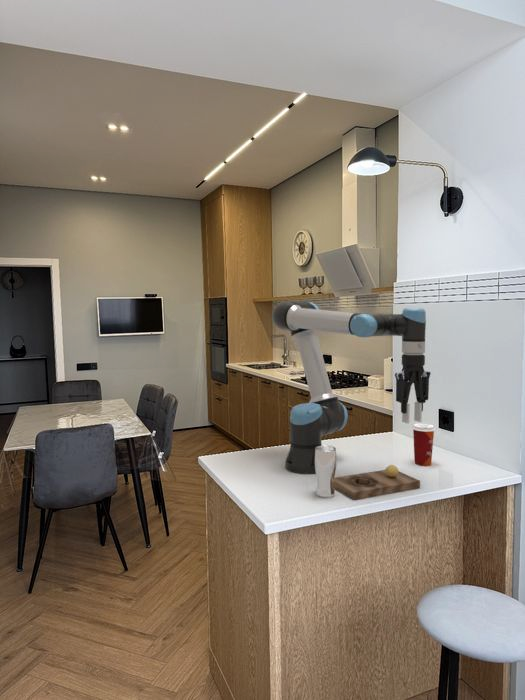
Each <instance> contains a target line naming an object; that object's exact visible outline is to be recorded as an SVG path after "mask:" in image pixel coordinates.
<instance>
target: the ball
mask: <svg viewBox="0 0 525 700" xmlns="http://www.w3.org/2000/svg"><path fill="white" fill-rule="evenodd" d="M385 470H386V473H387V475H388V476H390V477H395V476H396V475H397V474H398V471H399V469H398V467H397V466H396V465H394V464H389V465H388V466H387V467H386V469H385Z"/></svg>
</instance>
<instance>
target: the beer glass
mask: <svg viewBox="0 0 525 700" xmlns="http://www.w3.org/2000/svg"><path fill="white" fill-rule="evenodd" d="M337 460H338V459H337V449H336V447H335V446H333V445H325V444H324V445H323V444H322V445H321V446H317V447H316V448H315V471H316V473H315V477H316V489H315V495H316V496H317V497H320V498H325V499H327V498H332V497H334V496H336V495H335V494H336V492H335V489H334V478H336V477H335V476H336V470H337Z"/></svg>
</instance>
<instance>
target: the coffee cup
mask: <svg viewBox="0 0 525 700" xmlns="http://www.w3.org/2000/svg"><path fill="white" fill-rule="evenodd" d="M412 430H413V455H414V464H415V465H417V466H419V467H430V466H431V465H432V461H433V460H432V458H433V446H434V434H435V431H436V428H435V426H434V425H433V424H430V423H423V422H418V423H414V424H413V426H412Z"/></svg>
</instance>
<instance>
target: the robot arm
mask: <svg viewBox="0 0 525 700" xmlns="http://www.w3.org/2000/svg"><path fill="white" fill-rule="evenodd" d="M271 318H272V319H271V320H272V323H273V325H275V327H277V328H278V329H279V330H282V331H290V336H291V338H292V339H294V340H295V341H296V343H297V348H298V350H299V351H298V352H299V355H300V359H301V363H302V366H303V367H302V368H303V371H304V374H305V379H306V383H307V386H308V390H309V393H310V394H309V395H310V400H309V402H306V403H300V404H296V405H294V406H293V407H292V408H291V410H290V416H289V423H290V425H289V428H290V429H289V433H290V435H289V436H290V437H289V438H290V439H289V440H290V441H289V442H290V443H289V444H290V445H289V450H288V452H287V455H286V459H285V469H286V468H287V469H286V470H288V471H289V470H290V471H289V472H292V473H297V474H309V475H310V474H316V471H315V448H316V447H317V446H322V442H323V441H322V437H324V436H326V435H330V434H334V433H335V434H336V433H337V432H338V431H341V430H342V429H344V427H345V426H346V425H347V422H348V419H349V418H348V416H349V415H348V410H347V407H346V406H345V405H344V404H343V403H342V402H340V401H339V397H338V395H336V394H335V393H333V389H332V386H331V383H330V378H329V376H328V371H327V368H326V364H325V360H324V356H323V352H322V349H321V345H320V341H319V336H318V334H319V333H320V331H321V332H326V333H337V334H345V335H352V336H355V337H359V338H371V337H384V336H385V337H386V336H389V337H390V336H391V337H395V336H398V337H401V353H402V355H401V365H402V368H401V371H400V372H395V373H394V378H395V381H396V382H395V401H396V402H398V403H400V413H401V415H402V416H401V420H402V423H405V424H410V410H411V409H410V408H411V407H410V403H408V402H409V400H410V399H409V398H410V393H411V389H412V385H413V386H414V391H415V392H414V393H415V398H416V401H414V413H413V414H414V417H413V418H414V419H413V420H414V421H415V422H418V423H422V419H423V418H422V413H423V410H424V404H425V403H426V401H428V400H429V391H430V390H429V389H430V387H429V386H430V377H431V371H426V370H425V369H424V366H425V365H426V364H425V363H426V355H425V352H426V327H427V326H426V325H427V318H426V310H425V309H424V308H421V307H420V308H419V307H418V308H417V307H415V308H412V307H411V308H410V307H408V308H406V307H405V308H403V310H402V313H399V314H397V313H393V314H392V313H374V314H373V313H357V312H347V311H336V310H325V309H320V308H319V307H318V306H317V304H315V303H314V302H311V301H307V300H299V301H297V300H293V301H292V300H285V301H281V302H279V303H277V304H276V305H275V307H274V308H273V310H272V313H271Z"/></svg>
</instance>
